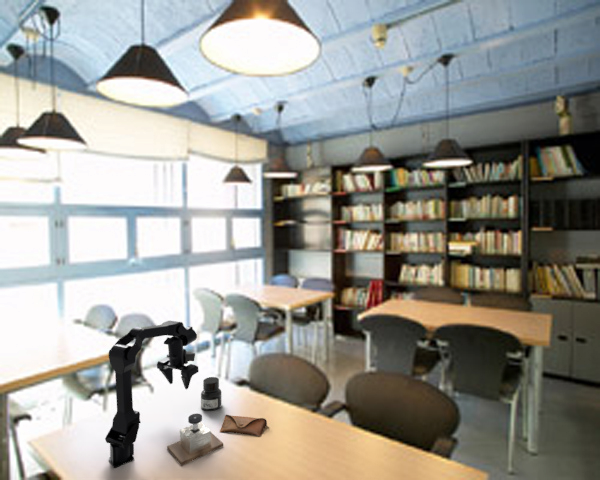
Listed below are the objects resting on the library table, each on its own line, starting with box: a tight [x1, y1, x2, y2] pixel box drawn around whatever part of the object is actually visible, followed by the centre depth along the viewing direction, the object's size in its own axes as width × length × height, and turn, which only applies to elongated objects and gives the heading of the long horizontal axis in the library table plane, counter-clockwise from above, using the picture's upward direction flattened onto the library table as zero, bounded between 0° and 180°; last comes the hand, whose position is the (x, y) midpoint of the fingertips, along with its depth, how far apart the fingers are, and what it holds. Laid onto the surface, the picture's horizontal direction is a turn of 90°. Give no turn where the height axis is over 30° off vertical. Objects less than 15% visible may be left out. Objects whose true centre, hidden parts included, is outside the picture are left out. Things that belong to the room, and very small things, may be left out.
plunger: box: [187, 413, 203, 433], centre depth 131 cm, size 5×5×6 cm
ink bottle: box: [200, 376, 222, 412], centre depth 161 cm, size 10×9×12 cm
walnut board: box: [166, 432, 224, 467], centre depth 131 cm, size 16×12×1 cm
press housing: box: [179, 421, 212, 454], centre depth 131 cm, size 8×8×5 cm
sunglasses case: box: [219, 414, 268, 437], centre depth 144 cm, size 18×7×7 cm, turn 82°
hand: (179, 386), depth 150 cm, fingers open, 9 cm apart
